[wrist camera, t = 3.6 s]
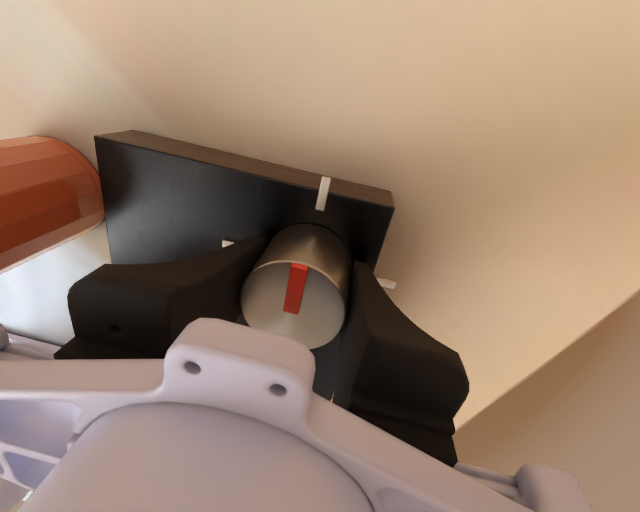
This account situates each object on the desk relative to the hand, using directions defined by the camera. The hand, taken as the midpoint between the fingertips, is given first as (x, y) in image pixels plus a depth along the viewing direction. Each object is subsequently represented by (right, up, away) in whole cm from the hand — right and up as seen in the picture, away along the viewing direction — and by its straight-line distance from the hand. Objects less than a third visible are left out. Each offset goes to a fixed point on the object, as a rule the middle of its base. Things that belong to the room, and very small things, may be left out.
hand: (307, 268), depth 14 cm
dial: (0, 0, 0) cm, 0 cm away
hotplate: (-4, -2, +5) cm, 6 cm away
